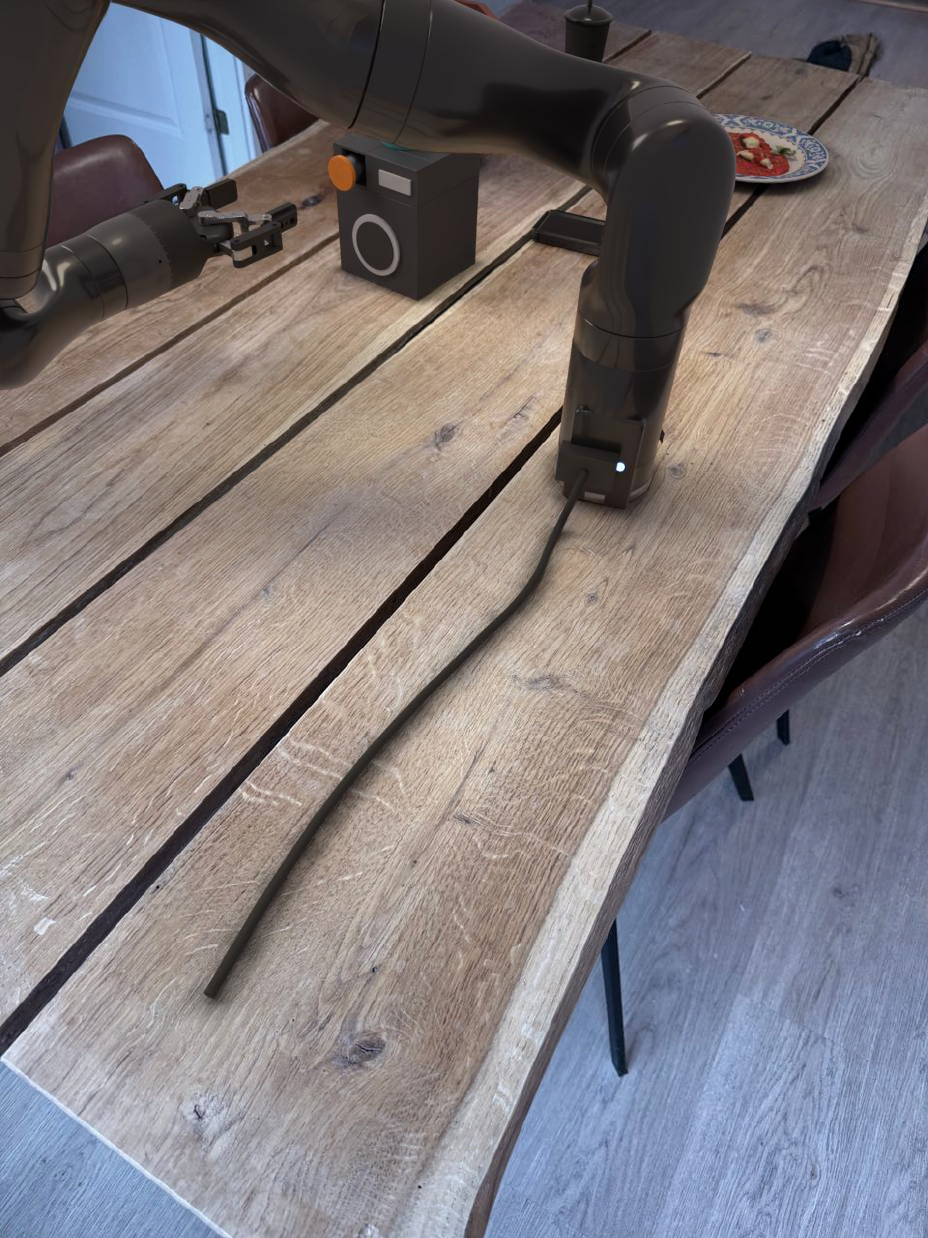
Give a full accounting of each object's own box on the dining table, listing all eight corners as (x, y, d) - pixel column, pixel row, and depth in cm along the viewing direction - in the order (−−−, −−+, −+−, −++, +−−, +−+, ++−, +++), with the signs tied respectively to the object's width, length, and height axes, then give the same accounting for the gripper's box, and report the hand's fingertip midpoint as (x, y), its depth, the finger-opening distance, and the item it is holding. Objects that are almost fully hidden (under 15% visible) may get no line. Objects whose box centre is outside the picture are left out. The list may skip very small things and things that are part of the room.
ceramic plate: (653, 184, 133) (657, 163, 131) (659, 121, 150) (662, 101, 148) (831, 204, 131) (838, 183, 128) (817, 137, 148) (823, 117, 146)
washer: (414, 302, 108) (413, 172, 97) (338, 270, 112) (329, 142, 101) (475, 263, 115) (481, 138, 104) (401, 235, 119) (399, 112, 108)
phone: (549, 207, 124) (655, 231, 120) (548, 216, 125) (653, 239, 121) (528, 231, 119) (638, 256, 115) (527, 239, 120) (636, 265, 116)
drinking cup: (546, 103, 154) (560, -39, 139) (585, 98, 156) (603, -43, 141) (569, 119, 149) (585, -26, 134) (608, 113, 152) (629, -30, 137)
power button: (353, 194, 101) (351, 161, 99) (329, 185, 103) (326, 152, 100) (375, 183, 103) (374, 150, 101) (351, 175, 105) (349, 142, 102)
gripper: (185, 240, 79) (312, 182, 88) (79, 193, 84) (209, 142, 93) (200, 319, 84) (318, 257, 93) (99, 270, 89) (220, 215, 99)
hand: (263, 200), depth 93 cm, fingers open, 8 cm apart
